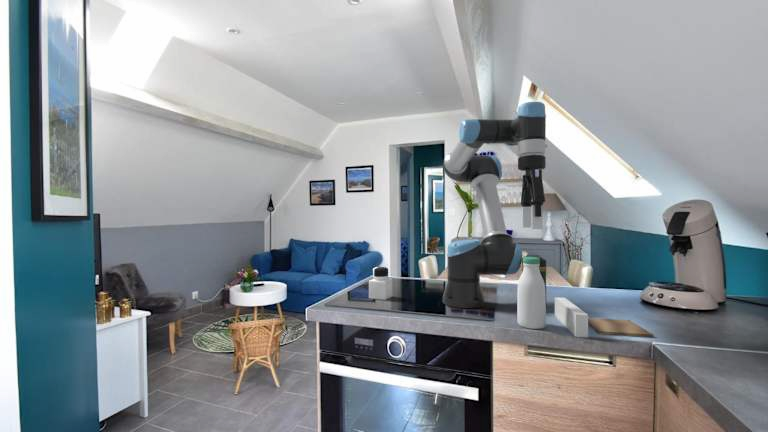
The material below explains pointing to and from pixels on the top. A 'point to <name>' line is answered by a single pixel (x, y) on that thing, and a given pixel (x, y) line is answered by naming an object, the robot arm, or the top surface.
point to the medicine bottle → (380, 284)
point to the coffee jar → (541, 267)
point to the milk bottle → (531, 296)
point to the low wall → (571, 317)
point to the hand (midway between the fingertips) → (531, 228)
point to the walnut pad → (618, 327)
